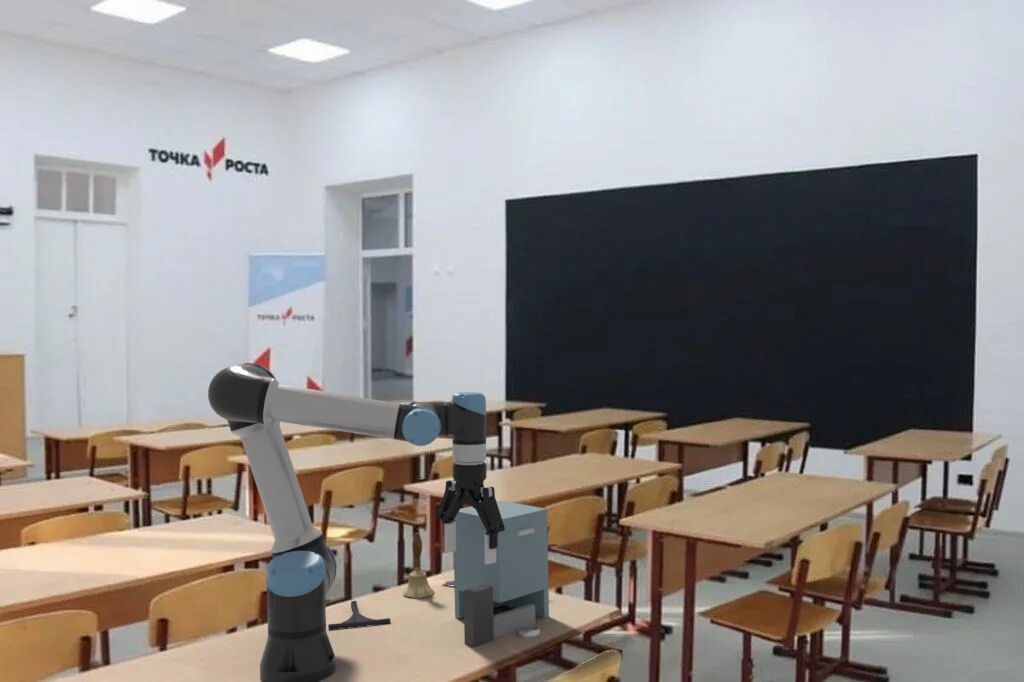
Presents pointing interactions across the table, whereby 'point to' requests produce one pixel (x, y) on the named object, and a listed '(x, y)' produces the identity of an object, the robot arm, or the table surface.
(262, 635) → the table surface
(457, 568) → the cabinet
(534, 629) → the steel token
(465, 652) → the table surface
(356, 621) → the dark squeegee
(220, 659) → the table surface
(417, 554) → the hand bell
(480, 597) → the grey l-bracket
